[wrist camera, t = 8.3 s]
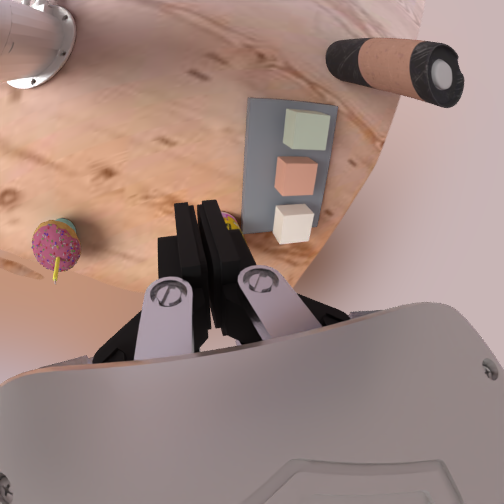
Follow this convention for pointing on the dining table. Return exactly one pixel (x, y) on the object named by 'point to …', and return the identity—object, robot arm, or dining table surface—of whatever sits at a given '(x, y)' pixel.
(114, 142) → the dining table surface
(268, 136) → the board
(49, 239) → the cupcake
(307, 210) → the button cream
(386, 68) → the travel mug
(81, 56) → the dining table surface
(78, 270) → the dining table surface
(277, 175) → the button terracotta
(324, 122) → the button sage
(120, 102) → the dining table surface
